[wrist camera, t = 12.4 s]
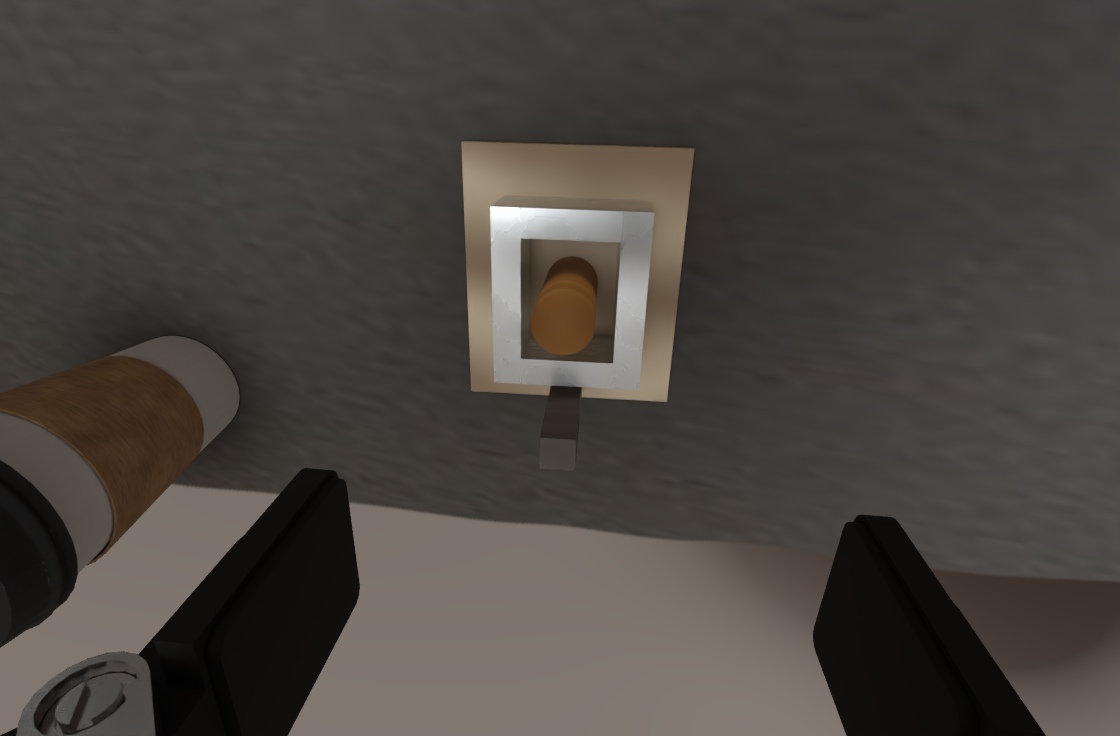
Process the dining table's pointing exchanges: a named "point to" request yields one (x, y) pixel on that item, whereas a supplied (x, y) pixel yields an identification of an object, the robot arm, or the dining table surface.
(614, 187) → the keeper
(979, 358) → the dining table surface
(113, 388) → the coffee cup
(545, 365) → the link
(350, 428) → the dining table surface
